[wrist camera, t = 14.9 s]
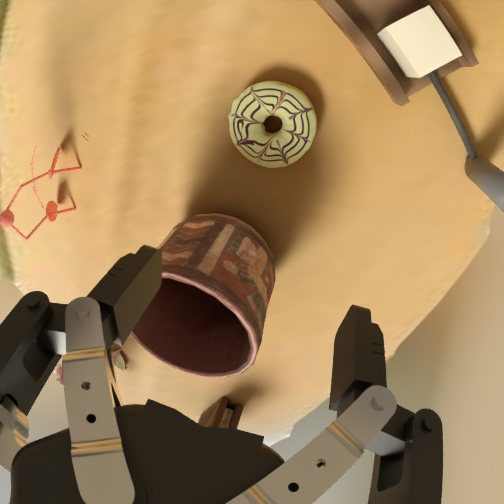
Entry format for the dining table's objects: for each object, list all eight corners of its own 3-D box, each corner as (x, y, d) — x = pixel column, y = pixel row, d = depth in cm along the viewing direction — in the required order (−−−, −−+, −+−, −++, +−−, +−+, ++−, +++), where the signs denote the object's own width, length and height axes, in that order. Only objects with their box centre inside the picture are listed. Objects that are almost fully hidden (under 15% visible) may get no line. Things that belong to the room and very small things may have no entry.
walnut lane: (291, -23, 25) (284, -39, 20) (366, -63, 19) (371, -82, 14) (394, 102, 31) (405, 108, 26) (465, 63, 25) (486, 63, 20)
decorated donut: (224, 145, 40) (215, 152, 37) (248, 70, 33) (240, 70, 30) (298, 173, 39) (295, 183, 36) (329, 98, 33) (328, 101, 30)
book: (220, 425, 86) (196, 493, 65) (196, 414, 85) (168, 482, 65) (252, 404, 73) (226, 490, 53) (222, 390, 72) (190, 477, 52)
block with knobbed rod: (376, 34, 26) (392, 21, 18) (414, 14, 23) (441, -3, 15) (463, 188, 33) (494, 223, 25) (496, 169, 30) (533, 199, 22)
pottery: (241, 175, 41) (185, 244, 27) (305, 272, 47) (286, 367, 33) (156, 227, 50) (92, 296, 35) (217, 304, 56) (179, 384, 41)
